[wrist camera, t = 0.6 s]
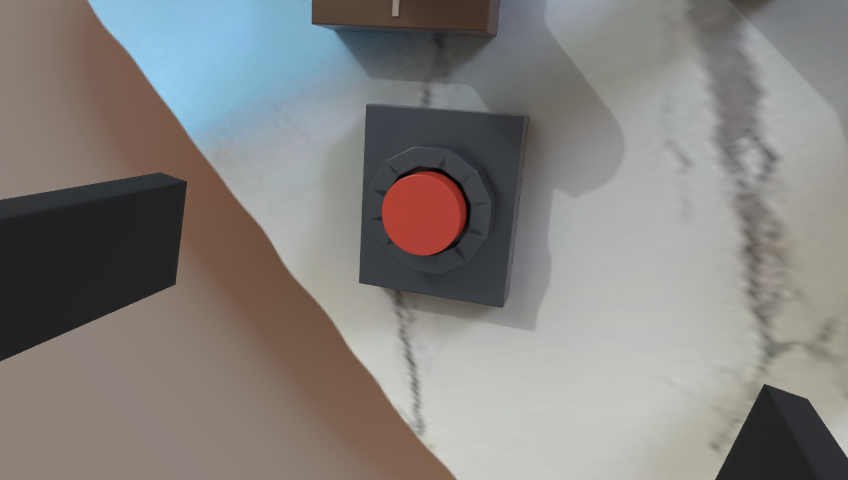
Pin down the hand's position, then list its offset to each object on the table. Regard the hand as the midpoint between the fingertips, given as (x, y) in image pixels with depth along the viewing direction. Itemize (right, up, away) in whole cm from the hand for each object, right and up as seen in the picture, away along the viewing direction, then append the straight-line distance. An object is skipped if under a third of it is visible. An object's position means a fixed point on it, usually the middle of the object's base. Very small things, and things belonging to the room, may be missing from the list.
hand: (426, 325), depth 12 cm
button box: (+1, +5, +25) cm, 26 cm away
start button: (0, +4, +22) cm, 22 cm away
